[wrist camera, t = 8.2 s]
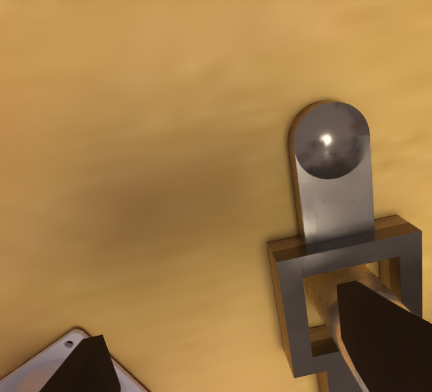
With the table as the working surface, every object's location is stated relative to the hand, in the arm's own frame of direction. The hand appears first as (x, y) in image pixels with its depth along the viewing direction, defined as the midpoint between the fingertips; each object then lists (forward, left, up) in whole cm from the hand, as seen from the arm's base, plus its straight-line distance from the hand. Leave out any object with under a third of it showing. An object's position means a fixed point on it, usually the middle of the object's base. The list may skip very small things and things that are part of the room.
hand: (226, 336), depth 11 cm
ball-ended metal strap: (+4, -9, -10) cm, 14 cm away
